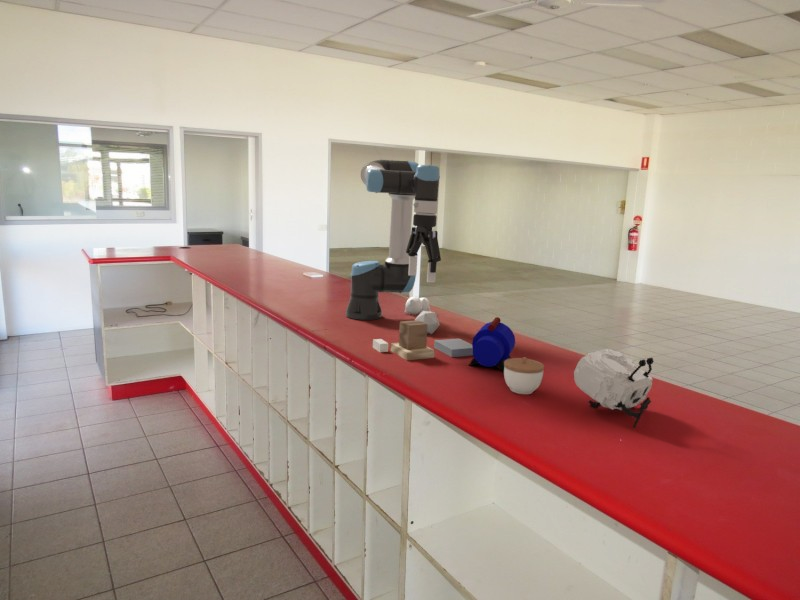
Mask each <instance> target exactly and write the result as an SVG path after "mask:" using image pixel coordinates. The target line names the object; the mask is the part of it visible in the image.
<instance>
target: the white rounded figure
mask: <svg viewBox="0 0 800 600" xmlns="http://www.w3.org/2000/svg"><path fill="white" fill-rule="evenodd" d="M406 300H407V301H406V302H405V309H404V311H403V312H404V314H405V313H406V314H407V313H408V314H411V315H419V314H420V313H421V312H422V311H429V312H432V310H431V308H430V306H431V305H430V301H429V299H428V298H427V297H418V296H410V297H409V298H408V299H406Z"/></svg>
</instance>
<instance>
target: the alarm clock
mask: <svg viewBox="0 0 800 600" xmlns="http://www.w3.org/2000/svg"><path fill="white" fill-rule="evenodd" d="M501 321H502V319H501V318H500V317H497V316H496V317H495V318H494V319H493V320H492V321H490V322H488V323H485V324H484V325H483V326H481V328H480V329H479V330H478V331H477V332H476V333H475V335H474V337H473V338H472V343H471V344H472V347H473V355H472V356H473V358H472V359H471V361H470V363H468V365H467V366H474V365H477V364H479V365H481V366H483V367H489V368H491V367H494V366H495V367H497V369H500V370H501V371H503V372H504V361H505V360H507V359H511V358H512V357H511V355H510V354H511V353H512V352H513V350H514V348H515V346H516V337H515V334H514V332H513V330H512V329H511V328H510V327H509V326H508V325H506V324H504V323H502V322H501Z"/></svg>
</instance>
